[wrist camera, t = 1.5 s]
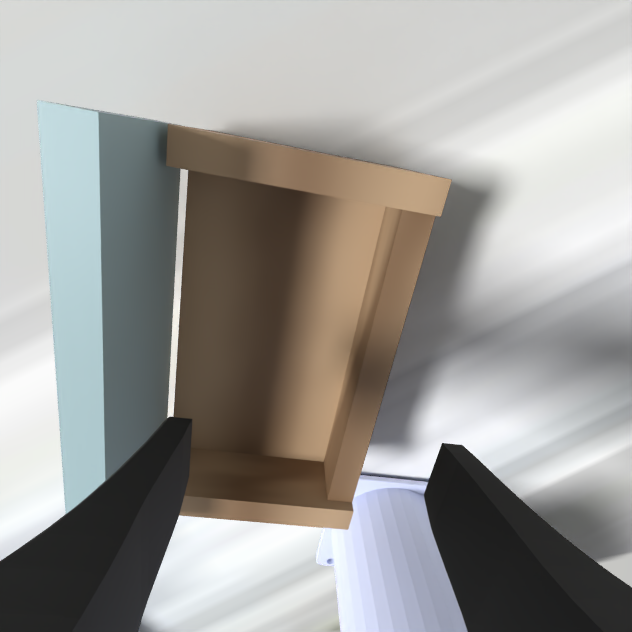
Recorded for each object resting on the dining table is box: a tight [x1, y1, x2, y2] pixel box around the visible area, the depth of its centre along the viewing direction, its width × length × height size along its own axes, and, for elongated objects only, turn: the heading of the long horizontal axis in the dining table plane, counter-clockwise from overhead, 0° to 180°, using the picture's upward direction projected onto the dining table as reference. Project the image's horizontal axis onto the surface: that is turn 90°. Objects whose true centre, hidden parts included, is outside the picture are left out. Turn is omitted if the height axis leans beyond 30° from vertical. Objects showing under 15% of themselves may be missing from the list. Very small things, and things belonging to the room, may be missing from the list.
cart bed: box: [166, 124, 452, 530], centre depth 18 cm, size 9×16×6 cm, turn 170°
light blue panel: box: [37, 100, 181, 514], centre depth 15 cm, size 1×16×7 cm, turn 169°
